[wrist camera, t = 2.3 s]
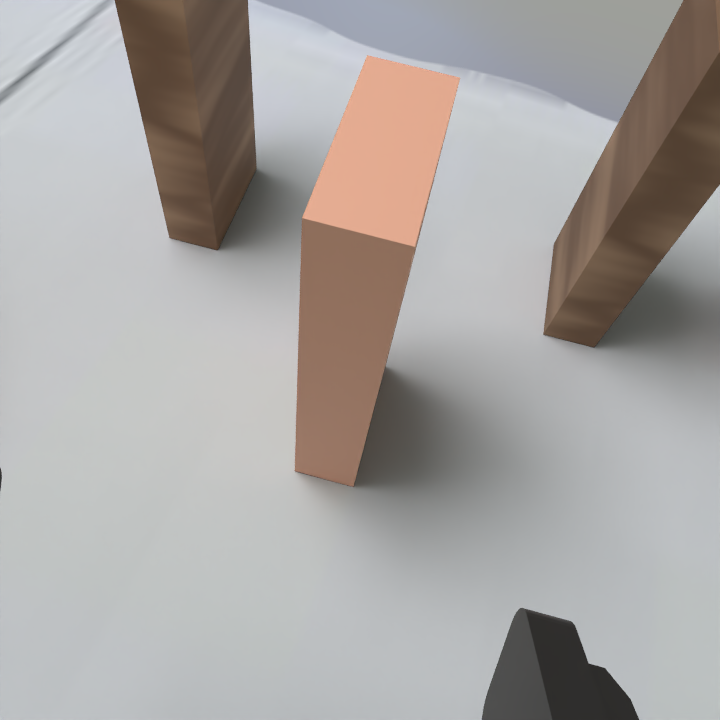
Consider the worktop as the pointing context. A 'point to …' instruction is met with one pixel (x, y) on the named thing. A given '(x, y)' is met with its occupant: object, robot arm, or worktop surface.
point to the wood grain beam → (194, 108)
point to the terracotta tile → (362, 255)
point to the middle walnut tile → (642, 182)
